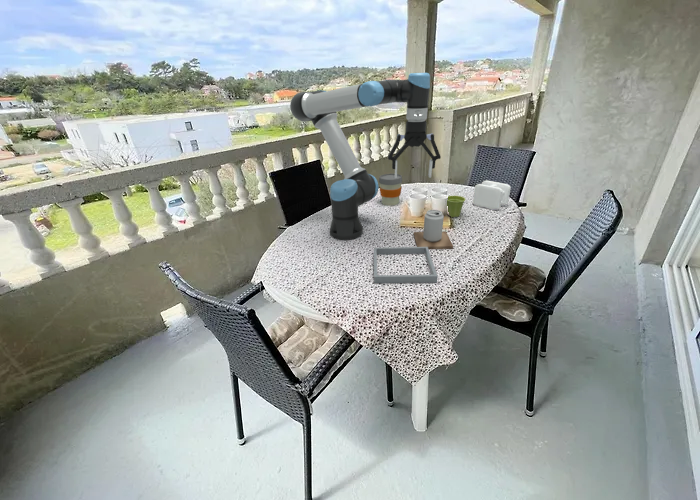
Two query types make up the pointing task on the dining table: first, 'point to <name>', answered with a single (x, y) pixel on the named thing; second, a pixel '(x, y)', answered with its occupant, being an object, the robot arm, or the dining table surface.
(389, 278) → the gray square frame
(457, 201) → the plant pot
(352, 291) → the dining table surface
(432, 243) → the pad
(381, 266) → the dining table surface
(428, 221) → the can
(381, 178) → the reusable coffee cup
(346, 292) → the dining table surface
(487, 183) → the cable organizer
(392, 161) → the robot arm
